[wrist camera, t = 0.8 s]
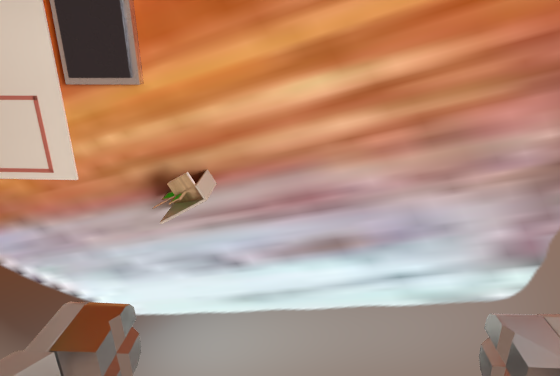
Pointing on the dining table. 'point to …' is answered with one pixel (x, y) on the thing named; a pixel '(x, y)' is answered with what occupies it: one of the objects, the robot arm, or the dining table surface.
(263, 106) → the dining table surface
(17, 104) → the paper sheet
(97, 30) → the ink pad
